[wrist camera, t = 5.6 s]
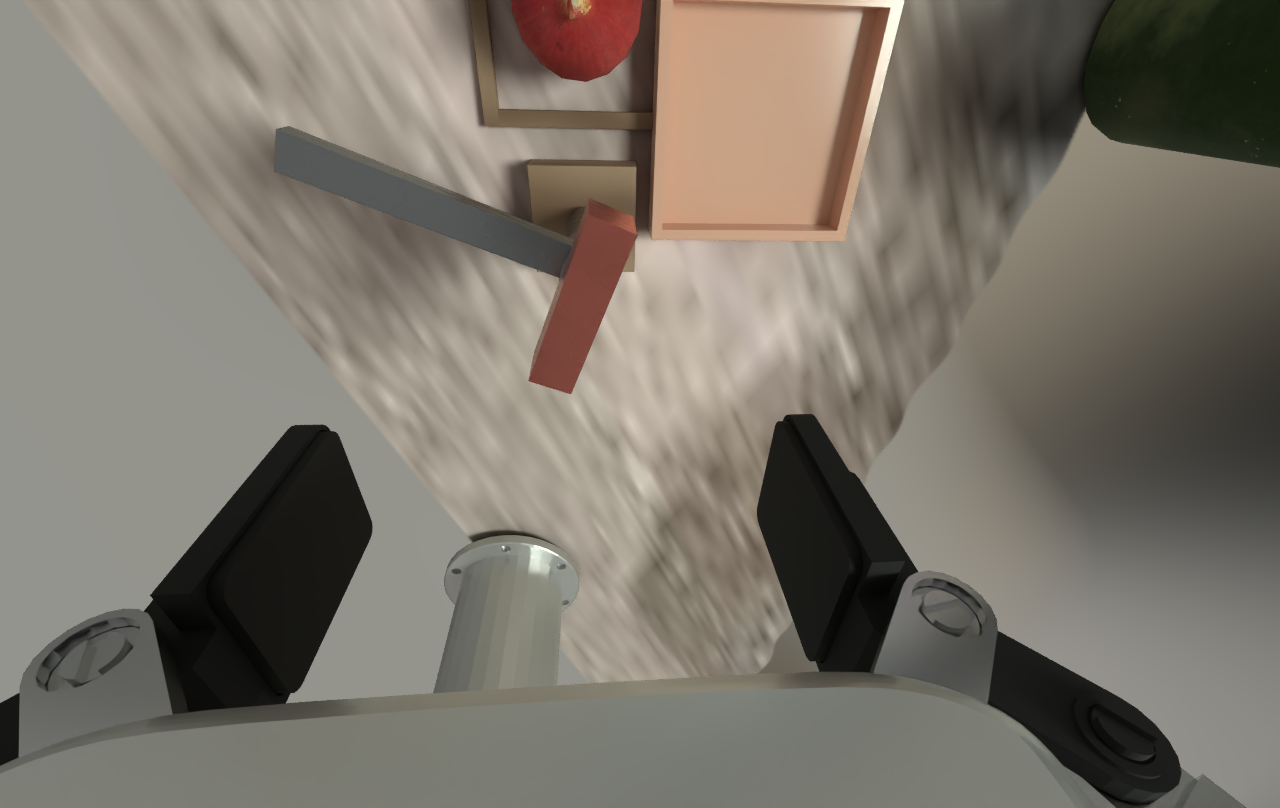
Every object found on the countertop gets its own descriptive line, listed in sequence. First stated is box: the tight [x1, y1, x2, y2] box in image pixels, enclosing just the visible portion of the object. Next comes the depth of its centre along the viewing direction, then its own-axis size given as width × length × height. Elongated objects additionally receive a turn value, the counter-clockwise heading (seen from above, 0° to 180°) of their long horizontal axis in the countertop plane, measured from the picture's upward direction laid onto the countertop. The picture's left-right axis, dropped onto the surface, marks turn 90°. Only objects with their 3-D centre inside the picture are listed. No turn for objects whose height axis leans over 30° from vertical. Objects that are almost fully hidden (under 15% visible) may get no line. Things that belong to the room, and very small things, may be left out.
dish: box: [649, 0, 904, 241], centre depth 28 cm, size 12×12×2 cm
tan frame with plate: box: [469, 0, 653, 272], centre depth 27 cm, size 18×11×2 cm, turn 179°
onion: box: [512, 0, 643, 82], centre depth 22 cm, size 6×6×8 cm
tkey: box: [274, 126, 637, 394], centre depth 23 cm, size 13×7×13 cm, turn 67°
